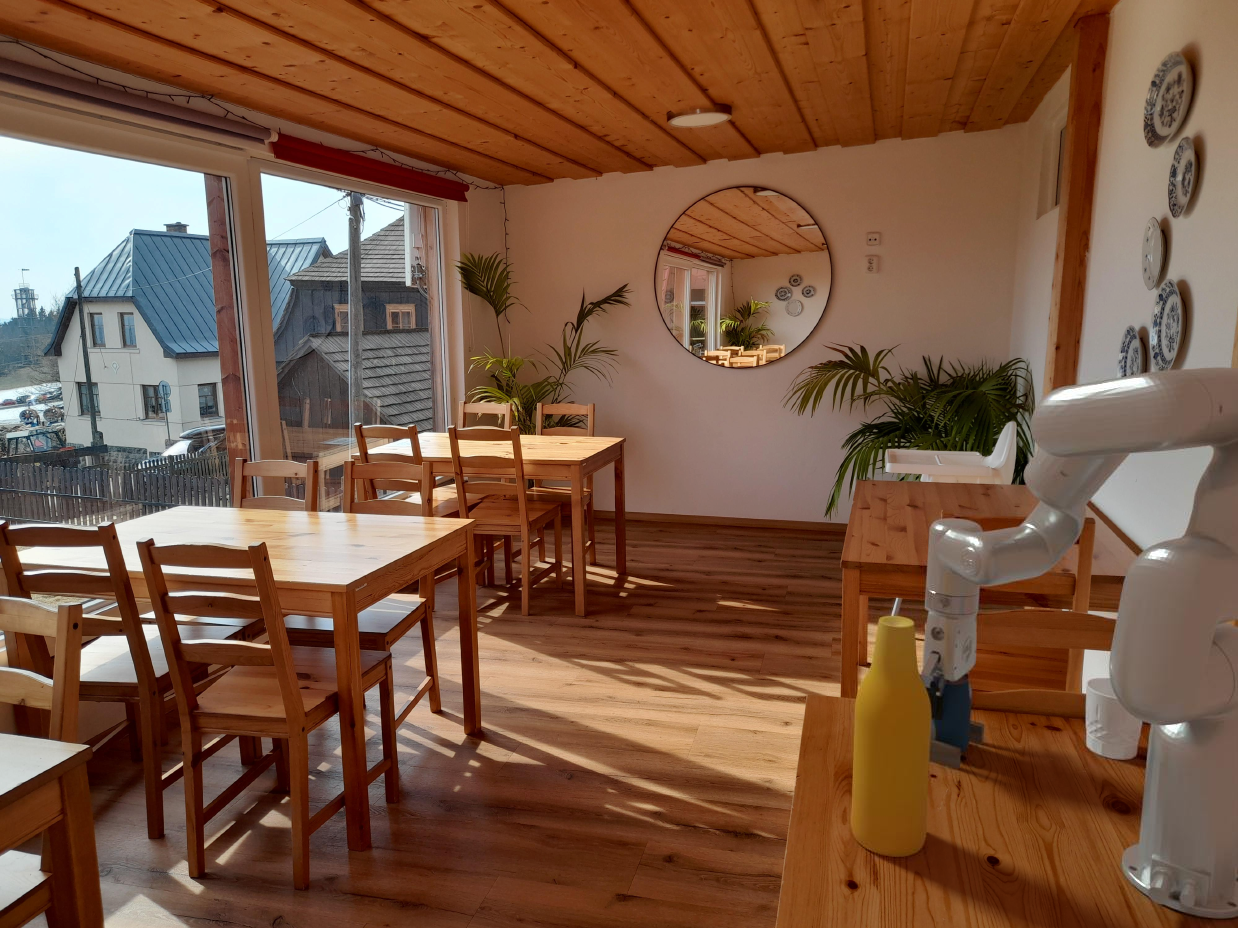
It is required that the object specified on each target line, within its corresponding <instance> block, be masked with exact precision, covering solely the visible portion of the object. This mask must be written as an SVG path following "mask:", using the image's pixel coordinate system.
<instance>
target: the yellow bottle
mask: <svg viewBox="0 0 1238 928" xmlns="http://www.w3.org/2000/svg"><path fill="white" fill-rule="evenodd" d="M915 628H916V627H915V622H914V621H913V620H912V619H910V618H908V617H904V616H899V615H885V616H881V617H879V618H878V622H877V629H876V636H875V641H874V642H875V643H874V650H873V654H872V655H873V656H872V661H871V665H870V667H869V669H868V671H867V673H866V674H865V676H864V678H863V680H862V681H861V684H860V685H859V688H858V689H857V690H858V691H857V694H856V699H855V703H854V730H853V731H854V732H853V733H854V734H853V756H852V757H853V761H852V764H853V765H852V793H851V810H850V828H851V832H852V835H853V837H854V839H855V840H856V842H857V843H859V844H860V845H861V846H862V847H863V848H865V849H867V850H868V851H871V852H873V853H875V854H878V855H881V856H885V857H891V858H902V857H903V858H904V857H909V856H912V855H915V854H916V853H918V852H919V851H920V850H922V848H923V847H924V845H925V841H926V839H927V838H926V837H927V814H928V812H927V811H928V793H929V792H928V791H929V772H930V770H929V767H930V760H929V753H930V733H931V704H930V699H929V696H928V693H927V690H926V688H925V686H924V683H923V681H922V677H921V673H920V671H919V668H918V657H917V643H916V629H915Z"/></svg>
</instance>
